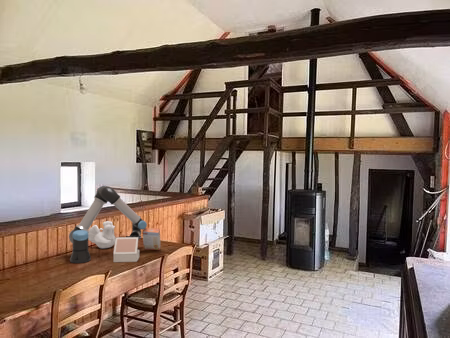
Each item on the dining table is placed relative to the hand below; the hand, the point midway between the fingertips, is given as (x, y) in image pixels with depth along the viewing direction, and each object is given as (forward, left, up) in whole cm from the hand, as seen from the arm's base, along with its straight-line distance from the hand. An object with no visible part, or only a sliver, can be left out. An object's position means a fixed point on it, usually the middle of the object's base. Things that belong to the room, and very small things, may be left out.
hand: (130, 241), depth 283 cm
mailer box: (-3, +1, -14) cm, 15 cm away
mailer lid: (-4, -1, -2) cm, 5 cm away
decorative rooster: (-3, +54, -15) cm, 56 cm away
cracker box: (+29, +17, -13) cm, 36 cm away
